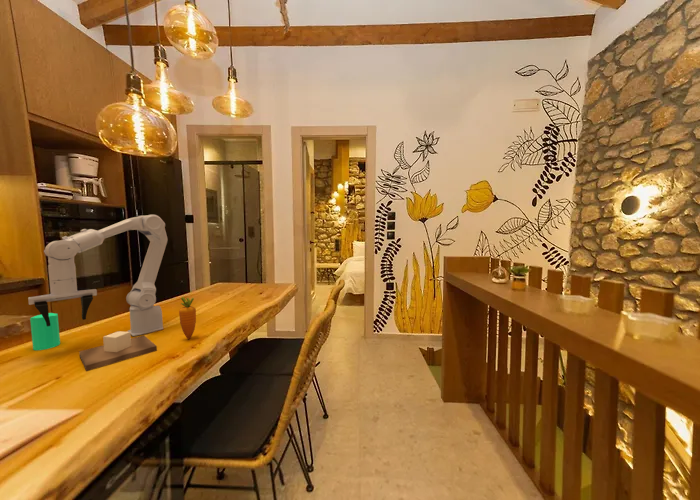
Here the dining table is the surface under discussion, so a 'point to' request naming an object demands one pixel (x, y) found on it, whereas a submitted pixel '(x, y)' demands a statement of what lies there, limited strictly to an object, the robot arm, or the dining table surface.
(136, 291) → the robot arm
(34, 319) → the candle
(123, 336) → the cube
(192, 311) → the carrot
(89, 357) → the walnut board
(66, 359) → the dining table surface
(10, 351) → the dining table surface
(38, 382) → the dining table surface
